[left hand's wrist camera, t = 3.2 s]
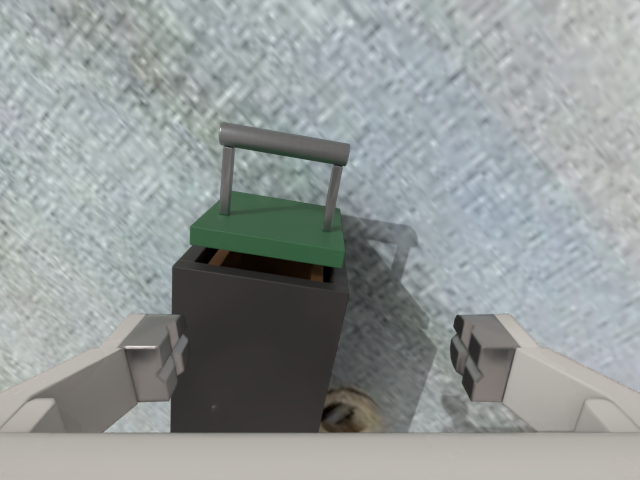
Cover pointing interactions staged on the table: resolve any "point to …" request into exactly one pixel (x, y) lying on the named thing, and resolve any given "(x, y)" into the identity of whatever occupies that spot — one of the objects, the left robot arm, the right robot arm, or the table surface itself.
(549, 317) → the table surface
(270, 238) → the drawer
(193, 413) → the dark grey box
